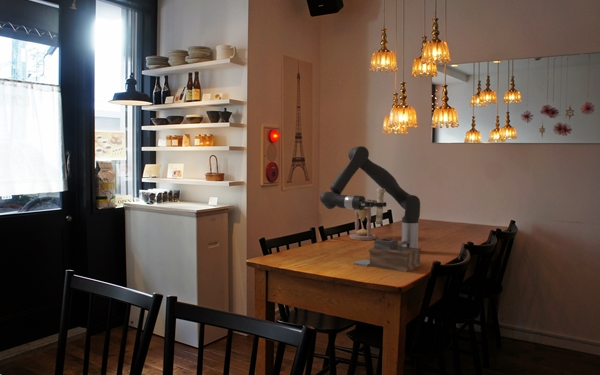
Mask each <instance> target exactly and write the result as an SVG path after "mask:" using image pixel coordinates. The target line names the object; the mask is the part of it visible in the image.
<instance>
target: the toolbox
mask: <svg viewBox="0 0 600 375" xmlns="http://www.w3.org/2000/svg"><path fill="white" fill-rule="evenodd" d="M373 241H374V242H373V246H374V247H371V248H368V252H369V260H370V266H369V267H371V268H378V269H384V270H390V271H398V272H404V273H408V272H409V271H412V270H414V269H416V268H419V267H420V266H421V264H420V263H421V252H422V249H421V248H419V247H418V248H412V247H410V240H406V241H403V242H402V241H401V242H399V239H398V238H397V239H395V238H386V237H380V238H378V239H377V238H376V239H374V240H373ZM404 244H407V247H403V246H402V245H404ZM407 271H408V272H407Z"/></svg>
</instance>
